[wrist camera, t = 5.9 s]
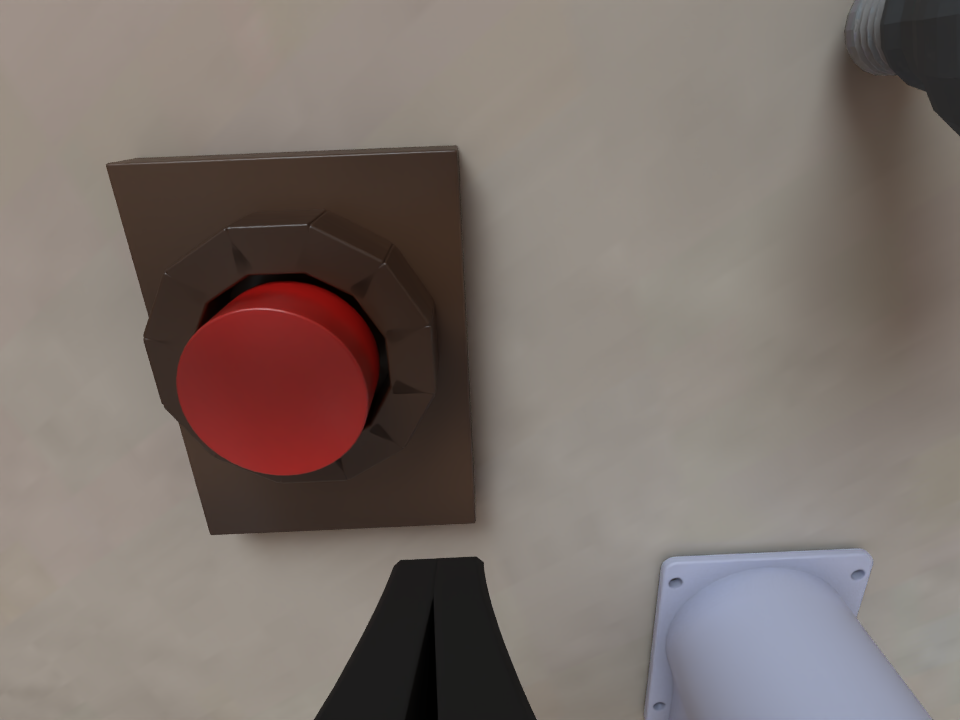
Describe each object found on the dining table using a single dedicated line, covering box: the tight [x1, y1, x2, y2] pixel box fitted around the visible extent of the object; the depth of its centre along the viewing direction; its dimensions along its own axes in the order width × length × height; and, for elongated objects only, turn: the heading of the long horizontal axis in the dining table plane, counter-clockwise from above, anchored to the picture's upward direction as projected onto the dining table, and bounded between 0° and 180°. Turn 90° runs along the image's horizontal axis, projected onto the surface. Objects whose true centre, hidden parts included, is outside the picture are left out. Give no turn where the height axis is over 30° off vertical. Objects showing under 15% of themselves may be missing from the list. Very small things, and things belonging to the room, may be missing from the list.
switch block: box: [106, 145, 476, 535], centre depth 17 cm, size 12×9×4 cm
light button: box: [176, 281, 380, 476], centre depth 15 cm, size 4×4×2 cm
